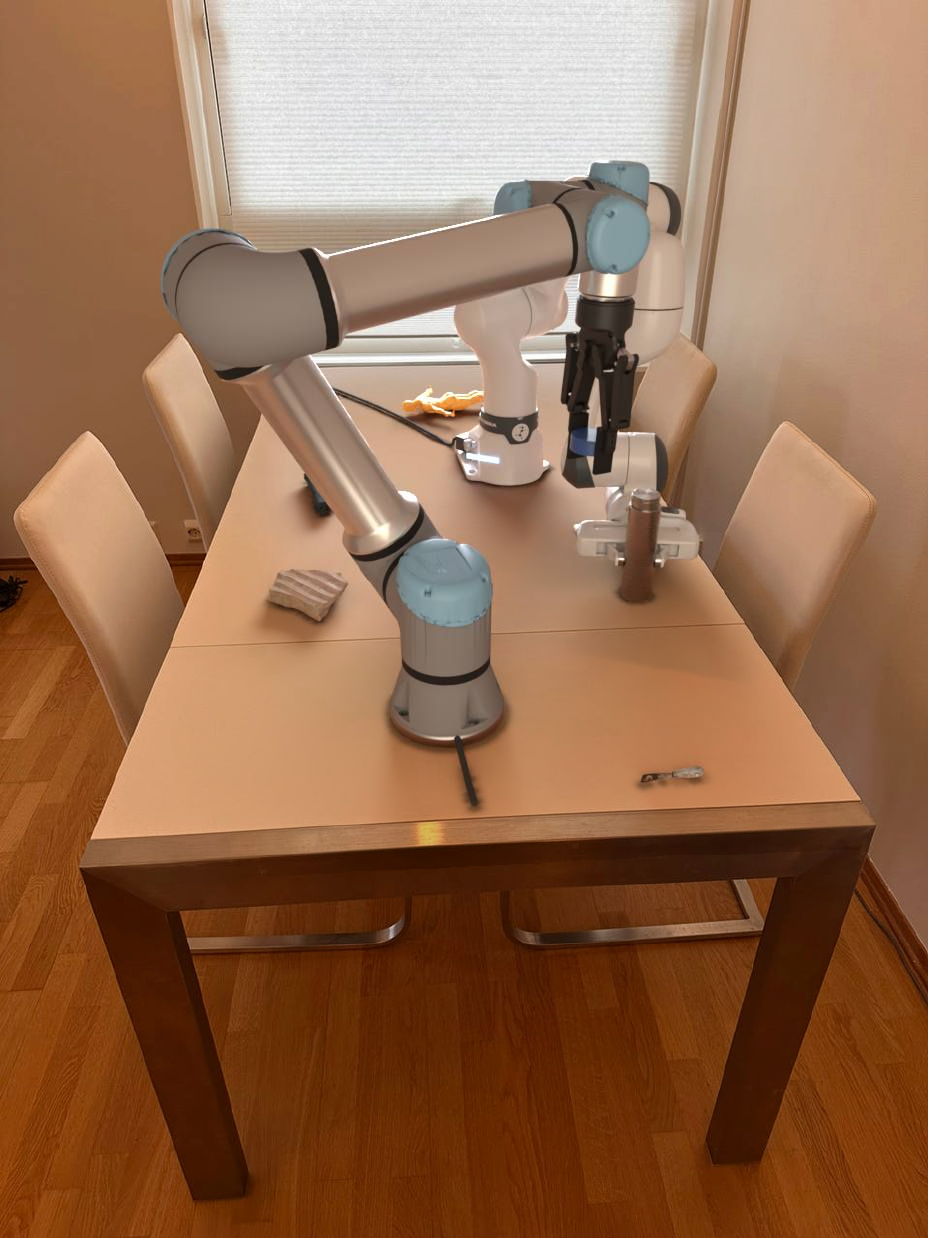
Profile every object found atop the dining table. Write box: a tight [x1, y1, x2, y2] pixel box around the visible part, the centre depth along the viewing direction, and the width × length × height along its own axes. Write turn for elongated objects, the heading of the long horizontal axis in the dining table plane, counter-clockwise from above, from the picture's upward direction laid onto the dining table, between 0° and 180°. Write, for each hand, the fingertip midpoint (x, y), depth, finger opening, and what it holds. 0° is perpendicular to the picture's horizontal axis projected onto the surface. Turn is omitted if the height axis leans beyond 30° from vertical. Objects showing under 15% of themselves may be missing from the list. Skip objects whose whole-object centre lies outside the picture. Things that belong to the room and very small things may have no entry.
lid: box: [570, 427, 597, 457], centre depth 125 cm, size 6×6×2 cm
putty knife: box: [640, 765, 705, 784], centre depth 109 cm, size 1×8×2 cm, turn 103°
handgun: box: [303, 472, 331, 515], centre depth 181 cm, size 3×18×12 cm
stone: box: [267, 568, 349, 622], centre depth 146 cm, size 13×12×2 cm
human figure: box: [402, 385, 483, 418], centre depth 225 cm, size 20×20×4 cm
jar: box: [619, 488, 663, 603], centre depth 143 cm, size 5×5×18 cm
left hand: (588, 464), depth 127 cm, fingers closed on lid, 6 cm apart
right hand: (639, 562), depth 143 cm, fingers closed on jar, 5 cm apart
